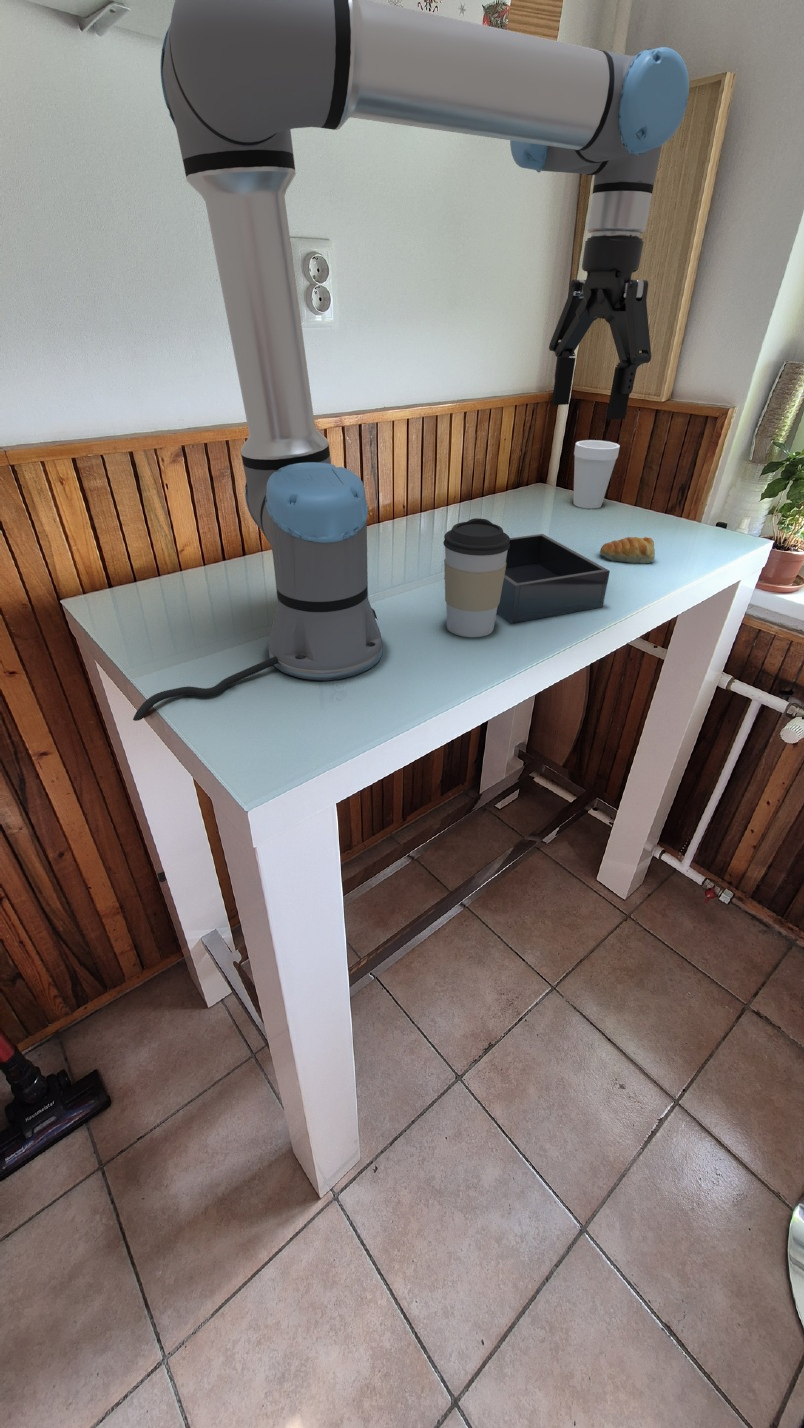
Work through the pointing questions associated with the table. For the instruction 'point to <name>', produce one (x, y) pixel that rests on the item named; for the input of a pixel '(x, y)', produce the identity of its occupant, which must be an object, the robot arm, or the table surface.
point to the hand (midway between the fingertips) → (586, 411)
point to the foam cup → (593, 471)
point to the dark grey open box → (548, 580)
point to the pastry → (630, 550)
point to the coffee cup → (474, 576)
